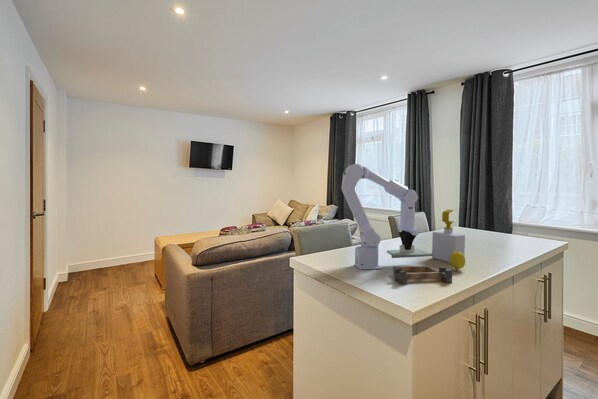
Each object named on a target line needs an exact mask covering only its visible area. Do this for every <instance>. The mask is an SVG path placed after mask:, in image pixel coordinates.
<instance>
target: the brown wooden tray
mask: <svg viewBox="0 0 598 399" xmlns="http://www.w3.org/2000/svg"><path fill="white" fill-rule="evenodd" d="M393 275H394V281H395V282H396V283H397V284H399V285H400V286H402V285H408V283H415V282H416V283H419V282H423V283H424V282H442V283H444V284H453V270H452V269H447V267H446V266H439V267H438V269H436V268H434V267H432V266H430V265H409V266H408V265H407V266H406V265H405V266H393Z"/></svg>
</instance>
